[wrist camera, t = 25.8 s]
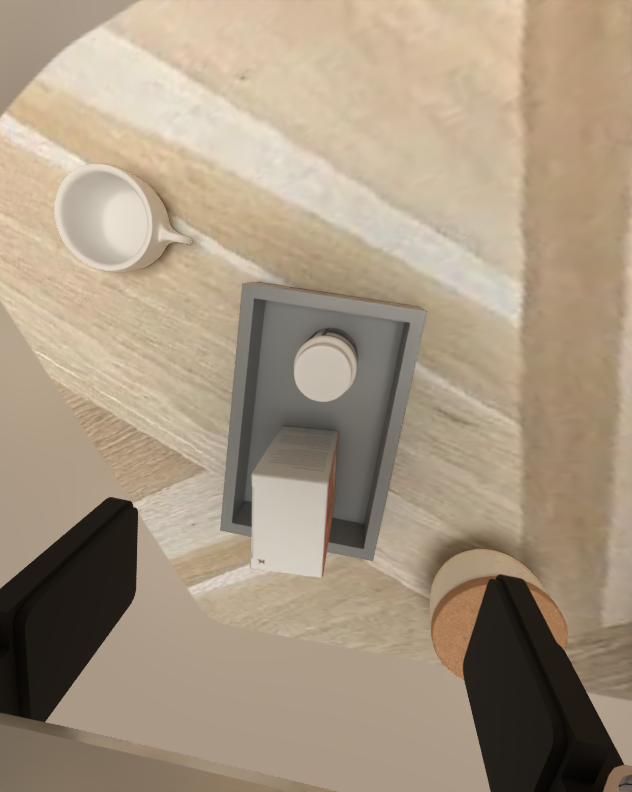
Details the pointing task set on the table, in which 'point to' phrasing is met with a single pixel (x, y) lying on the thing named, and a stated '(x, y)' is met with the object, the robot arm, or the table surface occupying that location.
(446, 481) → the table surface
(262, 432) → the tote
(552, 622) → the lidded jar
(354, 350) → the pill bottle
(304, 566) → the small box
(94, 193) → the teacup
